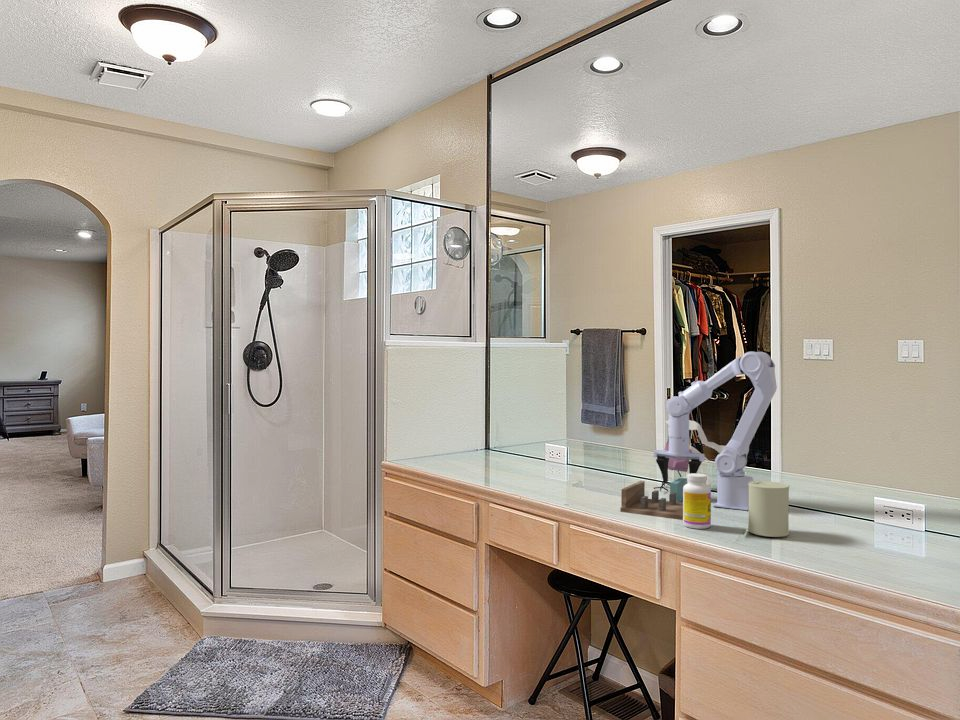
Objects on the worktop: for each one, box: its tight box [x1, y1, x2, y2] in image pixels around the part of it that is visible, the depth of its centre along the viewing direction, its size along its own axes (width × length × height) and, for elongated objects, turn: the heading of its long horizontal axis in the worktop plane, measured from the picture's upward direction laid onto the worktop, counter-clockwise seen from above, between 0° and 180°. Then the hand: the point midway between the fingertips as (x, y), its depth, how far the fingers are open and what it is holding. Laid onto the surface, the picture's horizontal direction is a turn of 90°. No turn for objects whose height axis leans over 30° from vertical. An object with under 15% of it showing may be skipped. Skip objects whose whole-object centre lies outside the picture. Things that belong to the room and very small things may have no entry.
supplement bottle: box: [682, 473, 712, 530], centre depth 171 cm, size 7×7×13 cm
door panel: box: [669, 477, 688, 502], centre depth 202 cm, size 2×10×6 cm, turn 147°
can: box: [747, 480, 790, 538], centre depth 166 cm, size 9×9×12 cm
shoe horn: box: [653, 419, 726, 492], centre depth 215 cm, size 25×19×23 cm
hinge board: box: [619, 480, 683, 521], centre depth 189 cm, size 18×16×6 cm
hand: (678, 483), depth 202 cm, fingers open, 7 cm apart
